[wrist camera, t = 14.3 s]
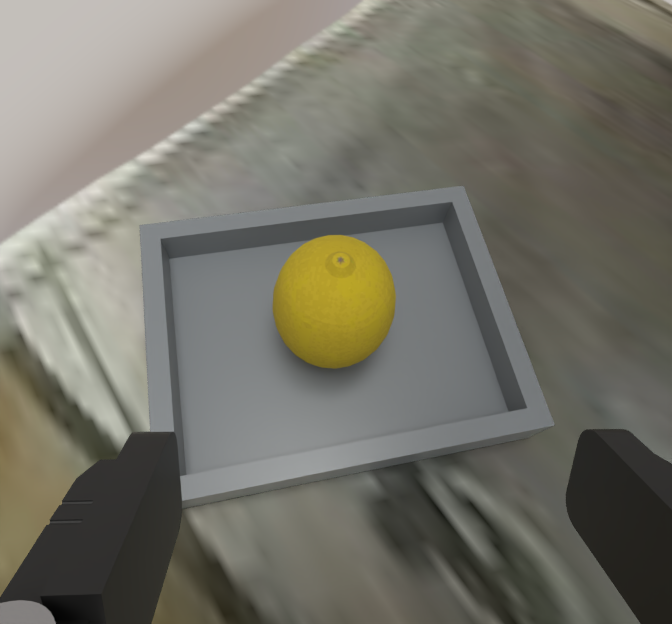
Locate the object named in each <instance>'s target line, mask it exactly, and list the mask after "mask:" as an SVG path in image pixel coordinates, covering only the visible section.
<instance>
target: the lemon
mask: <svg viewBox="0 0 672 624" xmlns="http://www.w3.org/2000/svg"><path fill="white" fill-rule="evenodd" d="M395 303H396V293H395V287H394V282H393V277H392V274H391V272H390V270H389V268H388V266H387V264H386V262H385V261H384V259H383V258H382V257H381V256H380V255H379V253H378V252H377V251H376V250H374V249H373V248H372V247H370V246H369V245H368V244H366V243H365V242H363V241H360V240H358V239H356V238H354V237H349V236H344V235H327V236H323V237H318V238H315V239H313V240H311V241H309V242H307V243H305V244H303V245H302V246H301V247H299V248H298V249H297V250H296V251H295V252H293V253H292V254H291V255H290V257H289V258H288V260H287V261H286V263H285V264H284V266H283V267H282V269H281V271H280V273H279V276H278V279H277V281H276V284H275V287H274V292H273V315H274V319H275V324H276V328H277V330H278V332H279V334H280V336H281V338H282V339H283V341H284V343H285V345H286V346H287V347H288V348H289V349H290V350H291V351H292V352H293V353H294V354H295V355H296V356H297V357H299V358H301V359H302V360H304V361H305V362H307V363H309V364H312V365H315V366H318V367H321V368H333V369H336V368H342V367H348V366H351V365H353V364H356V363H358V362H360V361H363V360H364V359H365V358H367V357H368V356H369V355H371V354H372V353H373V352H374V351H376V350H377V348H378V347H379V346H380V344H381V343H382V342H383V340H384V339H385V338H386V336H387V334H388V332H389V329H390V327H391V324H392V322H393V319H394V314H395Z"/></svg>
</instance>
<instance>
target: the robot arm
mask: <svg viewBox="0 0 672 624" xmlns="http://www.w3.org/2000/svg"><path fill="white" fill-rule="evenodd" d="M566 507H567V512H568V515H569V518H570V520H571V523H572V524H573V526H574V528H575V529H576V531H577V532H578V533H579V535H580V536H581V538H582V539H583V541H584V542H585V544H586V545H587V546H588V548H589V549H590V551H591V552H592V554H593V555H594V557H595V558H596V559H597V561H598V562H599V564H600V565H601V567H602V568H603V570H604V571H605V572H606V574H607V575H608V577H609V578H610V580H611V581H612V583H613V584H614V586H615V587H616V588H617V590H618V591H619V593H620V594H621V596H622V597H623V599H624V600H625V601H626V603H627V604H628V606H629V607H630V609H631V610H632V612H633V613H634V614H635V616H636V617H637V619H638V620H639V622H640V623H641V624H672V464H671V463H669V462H668V461H666V460H664V459H662V458H661V457H659V456H657V455H655V454H654V453H653V452H652V451H651V450H649V449H648V448H647V447H646V446H645V445H644V444H643V443H642V442H641V441H640V440H638V439H637V438H636V437H635V436H634V435H633V434H632V433H631V432H629V431H627V430H624V429H589V430H585V431H583V432H582V433H581V435H580V437H579V440H578V444H577V448H576V452H575V457H574V461H573V465H572V470H571V474H570V478H569V483H568V487H567V491H566ZM181 514H182V493H181V481H180V469H179V457H178V445H177V438H176V434H175V433H174V432H133V433H131V435H130V436H129V438H128V440H127V441H126V443H125V445H124V447H123V448H122V450H121V452H120V454H119V456H118V457H117V459H116V460H99V461H98V462H97V463H96V464H94V465H93V466H92V467H90V468H89V469H88V470H87V471H85V472H84V473H83V474H82V475H80V476H79V477H78V478H77V479H76V480H75V482H74V483H73V485H72V486H71V488H70V489H69V491H68V493H67V494H66V496H65V497H64V499H63V500H62V505H59V507H58V508H57V510H56V511H55V513H54V514H53V516H52V517H51V519H50V524H49V525H46V527H45V528H44V530H43V531H42V533H41V535H40V536H39V538H38V539H37V541H36V542H35V544H34V545H33V547H32V549H31V550H30V552H29V553H28V555H27V556H26V558H25V560H24V561H23V563H22V564H21V566H20V567H19V569H18V570H17V572H16V574H15V575H14V577H13V578H12V580H11V581H10V583H9V584H8V586H7V588H6V589H5V591H4V592H3V594H2V595H1V597H0V624H151V622H152V619H153V616H154V612H155V609H156V606H157V602H158V599H159V596H160V592H161V589H162V586H163V582H164V579H165V576H166V573H167V569H168V566H169V563H170V559H171V556H172V553H173V549H174V546H175V543H176V539H177V536H178V532H179V528H180V522H181Z"/></svg>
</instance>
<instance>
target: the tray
mask: <svg viewBox="0 0 672 624" xmlns="http://www.w3.org/2000/svg"><path fill="white" fill-rule="evenodd" d="M327 235H344V236H349V237H354V238H356V239H358V240H360V241H363V242H365V243H366V244H368V245H369V246H370V247H372V248H373V249H374V250H376V251H377V252H378V253H379V255H380V256H381V257H382V258H383V259H384V261H385V262H386V264H387V266H388V268H389V270H390V272H391V274H392V277H393V282H394V287H395V293H396V303H395V314H394V319H393V322H392V324H391V327H390V329H389V332H388V334H387V336H386V338H385V339H384V340H383V342H382V343H381V344H380V346H379V347H378V348H377V350H376V351H374V352H373V353H372V354H371V355H369V356H368V357H367V358H365V359H364V360H363V361H360V362H358V363H356V364H353V365H351V366H348V367H342V368H336V369H333V368H321V367H318V366H315V365H312V364H309V363H307V362H305V361H304V360H302V359H301V358H299V357H297V356H296V355H295V354H294V353H293V352H292V351H291V350H290V349H289V348H288V347H287V346H286V345H285V343H284V341H283V339H282V338H281V336H280V334H279V332H278V330H277V328H276V324H275V319H274V315H273V292H274V287H275V284H276V281H277V279H278V276H279V273H280V271H281V269H282V267H283V266H284V264H285V263H286V261H287V260H288V258H289V257H290V255H291V254H292V253H293V252H295V251H296V250H297V249H298V248H299V247H301V246H302V245H303V244H305V243H307V242H309V241H311V240H313V239H315V238H318V237H323V236H327ZM140 242H141V262H142V281H143V301H144V320H145V340H146V359H147V378H148V398H149V417H150V432H174V433H175V434H176V438H177V445H178V457H179V469H180V481H181V493H182V509H184V508H189V507H194V506H199V505H204V504H209V503H214V502H218V501H223V500H228V499H233V498H238V497H243V496H248V495H253V494H257V493H262V492H267V491H272V490H277V489H282V488H287V487H291V486H296V485H301V484H306V483H311V482H316V481H321V480H326V479H330V478H335V477H340V476H345V475H350V474H355V473H360V472H365V471H369V470H374V469H379V468H384V467H389V466H394V465H399V464H403V463H408V462H413V461H418V460H423V459H428V458H433V457H438V456H442V455H447V454H452V453H457V452H462V451H467V450H472V449H476V448H481V447H486V446H491V445H496V444H501V443H506V442H511V441H515V440H520V439H525V438H529V437H531V436H533V435H535V434H537V433H539V432H542V431H544V430H546V429H548V428H550V427H552V426H554V425H555V424H554V422H553V419H552V416H551V414H550V411H549V408H548V406H547V403H546V401H545V398H544V395H543V393H542V390H541V387H540V385H539V382H538V380H537V377H536V374H535V372H534V369H533V367H532V364H531V361H530V359H529V356H528V353H527V351H526V348H525V346H524V343H523V340H522V338H521V335H520V332H519V330H518V327H517V325H516V322H515V319H514V317H513V314H512V311H511V309H510V306H509V304H508V301H507V298H506V296H505V293H504V290H503V288H502V285H501V283H500V280H499V277H498V275H497V272H496V269H495V267H494V264H493V262H492V259H491V256H490V254H489V251H488V248H487V246H486V243H485V241H484V238H483V235H482V233H481V230H480V228H479V225H478V222H477V220H476V217H475V214H474V212H473V209H472V207H471V204H470V201H469V199H468V196H467V193H466V191H465V188H464V186H457V187H449V188H441V189H432V190H424V191H416V192H408V193H400V194H391V195H383V196H375V197H367V198H359V199H350V200H342V201H334V202H326V203H318V204H309V205H301V206H293V207H285V208H277V209H268V210H260V211H252V212H244V213H236V214H227V215H219V216H211V217H203V218H195V219H186V220H178V221H170V222H162V223H154V224H145V225H140Z"/></svg>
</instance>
